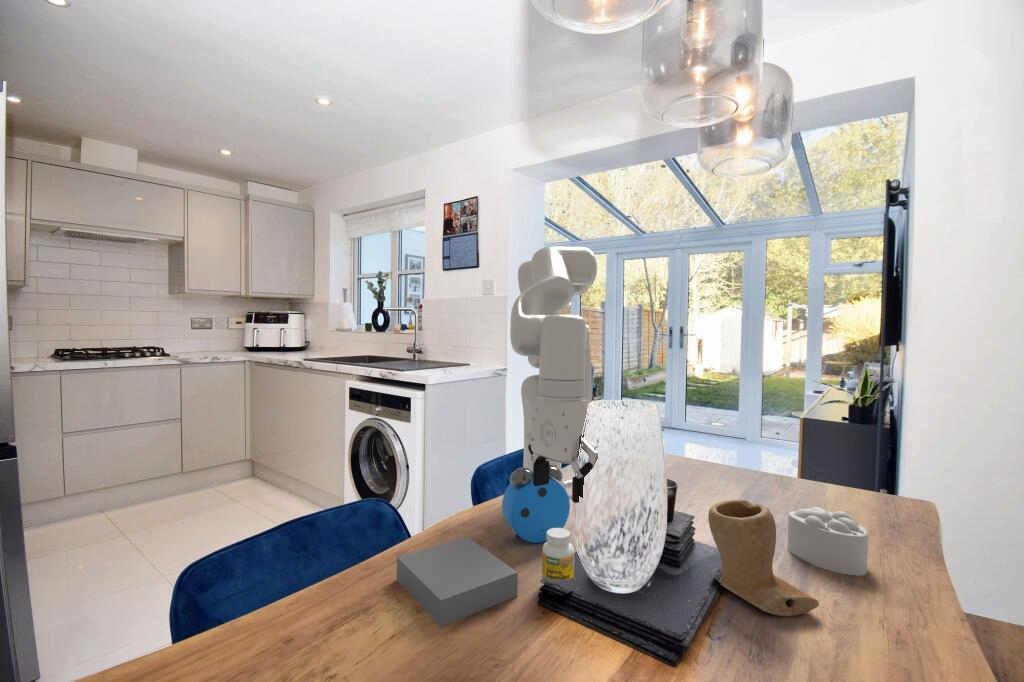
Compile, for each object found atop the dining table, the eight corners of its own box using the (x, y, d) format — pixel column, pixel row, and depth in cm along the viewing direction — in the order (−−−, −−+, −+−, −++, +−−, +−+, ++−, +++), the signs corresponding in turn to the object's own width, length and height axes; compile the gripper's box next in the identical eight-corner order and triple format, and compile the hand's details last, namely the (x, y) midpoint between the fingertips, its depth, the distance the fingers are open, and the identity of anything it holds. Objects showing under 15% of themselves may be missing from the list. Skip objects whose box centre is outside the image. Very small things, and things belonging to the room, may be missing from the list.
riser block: (466, 557, 92) (466, 536, 92) (517, 596, 79) (517, 572, 79) (396, 579, 83) (396, 556, 83) (440, 627, 71) (440, 600, 70)
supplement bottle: (573, 581, 84) (574, 526, 83) (574, 598, 78) (575, 540, 78) (542, 579, 84) (543, 524, 84) (541, 596, 79) (542, 538, 79)
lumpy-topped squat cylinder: (816, 540, 101) (818, 499, 101) (882, 571, 89) (884, 524, 89) (779, 548, 98) (781, 505, 97) (842, 580, 86) (844, 532, 85)
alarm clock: (557, 527, 106) (558, 459, 105) (570, 539, 100) (572, 467, 99) (500, 536, 101) (501, 465, 100) (511, 549, 95) (512, 474, 95)
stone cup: (691, 578, 85) (693, 494, 85) (745, 568, 89) (748, 488, 89) (760, 630, 71) (763, 529, 70) (820, 616, 75) (824, 520, 74)
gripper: (512, 385, 85) (510, 483, 85) (582, 397, 71) (580, 513, 71) (545, 383, 89) (543, 476, 89) (617, 393, 75) (615, 503, 76)
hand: (559, 492), depth 80 cm, fingers open, 9 cm apart
